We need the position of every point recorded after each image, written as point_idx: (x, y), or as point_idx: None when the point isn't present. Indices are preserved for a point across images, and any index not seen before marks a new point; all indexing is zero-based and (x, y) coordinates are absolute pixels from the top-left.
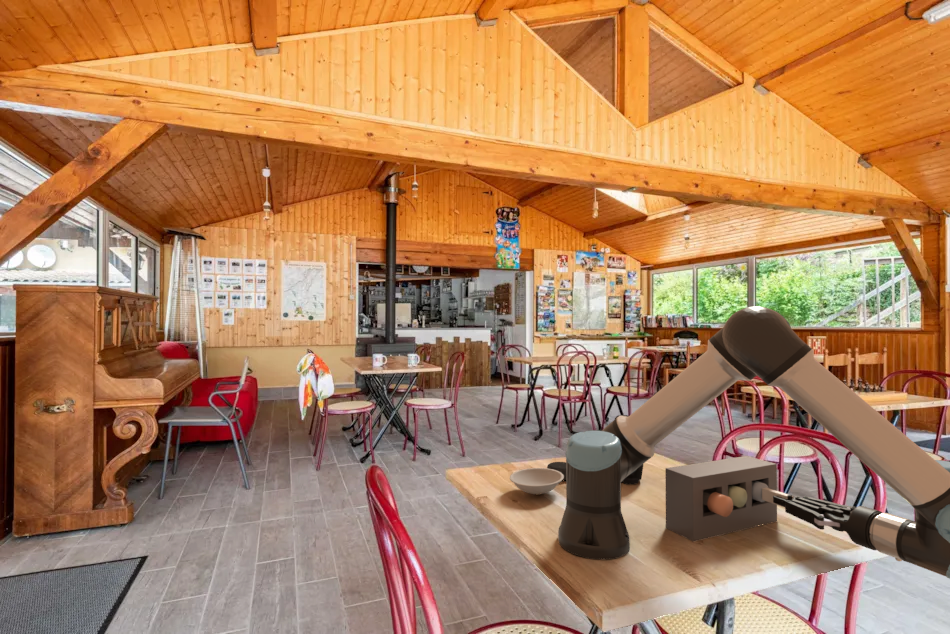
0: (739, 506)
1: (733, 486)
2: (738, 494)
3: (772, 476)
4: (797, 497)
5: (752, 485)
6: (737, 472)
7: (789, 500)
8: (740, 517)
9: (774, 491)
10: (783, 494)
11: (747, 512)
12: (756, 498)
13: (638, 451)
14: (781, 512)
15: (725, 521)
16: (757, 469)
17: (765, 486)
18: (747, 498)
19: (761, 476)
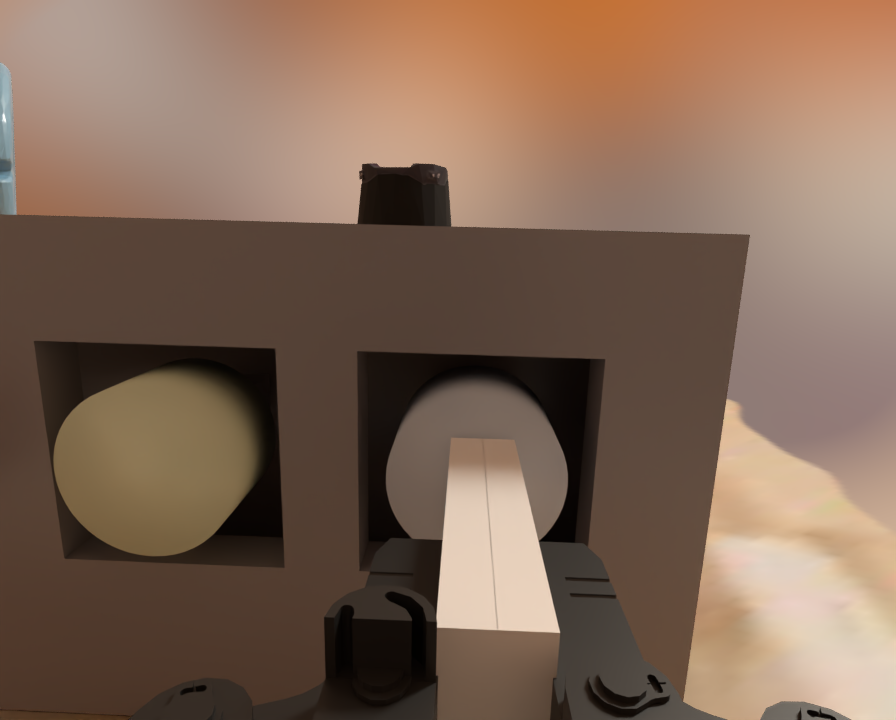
0: (132, 546)
1: (157, 370)
2: (112, 439)
3: (667, 356)
4: (591, 691)
5: (414, 402)
6: (153, 239)
7: (323, 702)
8: (217, 630)
9: (475, 489)
10: (474, 553)
11: (303, 609)
12: (400, 518)
13: (12, 171)
14: (840, 663)
15: (41, 627)
16: (442, 250)
17: (517, 430)
18: (302, 498)
19: (502, 331)
